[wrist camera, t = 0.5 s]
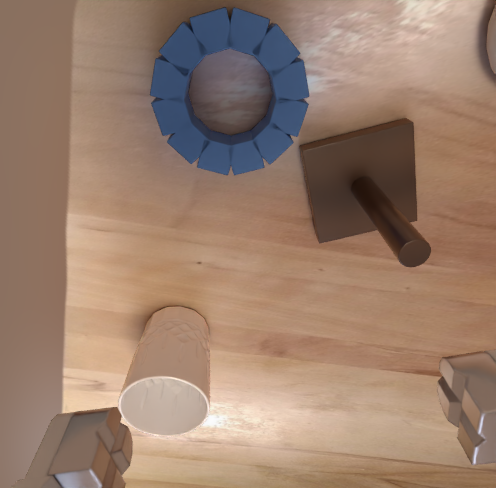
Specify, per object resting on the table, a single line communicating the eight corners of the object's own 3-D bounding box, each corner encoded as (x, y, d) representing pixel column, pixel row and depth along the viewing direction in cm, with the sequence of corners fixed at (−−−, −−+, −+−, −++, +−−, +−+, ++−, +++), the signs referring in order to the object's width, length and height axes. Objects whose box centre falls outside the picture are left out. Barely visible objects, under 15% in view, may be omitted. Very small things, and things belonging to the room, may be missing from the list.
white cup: (142, 296, 40) (117, 372, 32) (218, 305, 41) (215, 381, 33) (139, 352, 44) (117, 434, 35) (209, 359, 45) (204, 439, 36)
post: (299, 145, 33) (332, 206, 22) (406, 118, 32) (494, 167, 22) (316, 236, 38) (350, 323, 27) (410, 213, 37) (485, 294, 26)
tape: (136, 34, 29) (126, 36, 26) (286, -10, 28) (291, -13, 25) (185, 176, 34) (181, 188, 32) (312, 143, 33) (319, 154, 31)
